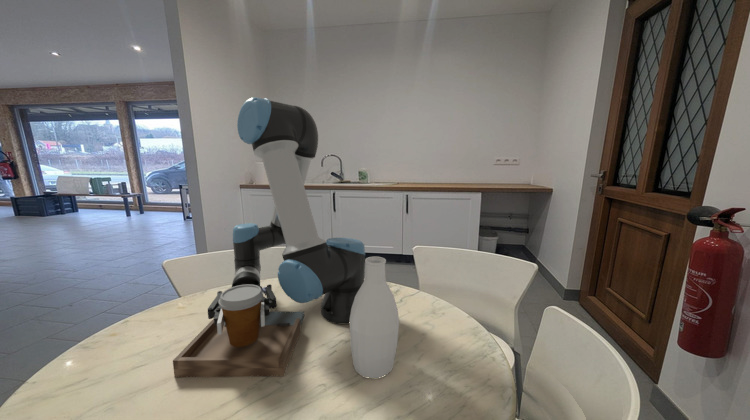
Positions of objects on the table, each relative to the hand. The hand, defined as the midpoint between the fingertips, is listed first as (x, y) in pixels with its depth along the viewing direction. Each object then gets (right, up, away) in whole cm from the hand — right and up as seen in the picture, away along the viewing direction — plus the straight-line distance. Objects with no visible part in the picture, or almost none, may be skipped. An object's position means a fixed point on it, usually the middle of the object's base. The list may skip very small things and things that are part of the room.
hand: (241, 324), depth 61 cm
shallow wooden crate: (-2, -8, +9) cm, 13 cm away
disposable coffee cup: (-2, -6, +5) cm, 8 cm away
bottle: (+29, -10, +2) cm, 31 cm away
